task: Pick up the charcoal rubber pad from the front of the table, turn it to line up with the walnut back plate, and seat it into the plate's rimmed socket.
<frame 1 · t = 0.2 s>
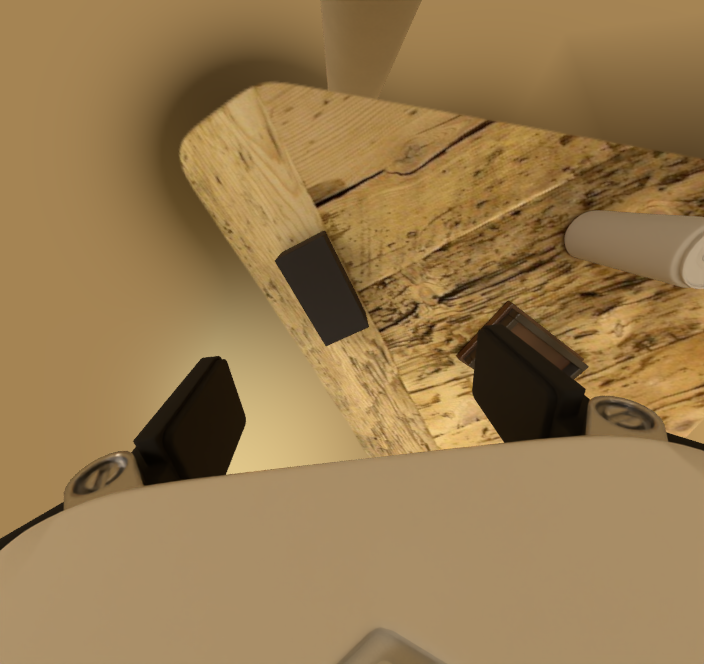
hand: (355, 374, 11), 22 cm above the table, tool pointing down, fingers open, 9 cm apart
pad: (325, 284, 32), on the table
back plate: (517, 355, 37), on the table
beverage can: (581, 233, 31), on the table
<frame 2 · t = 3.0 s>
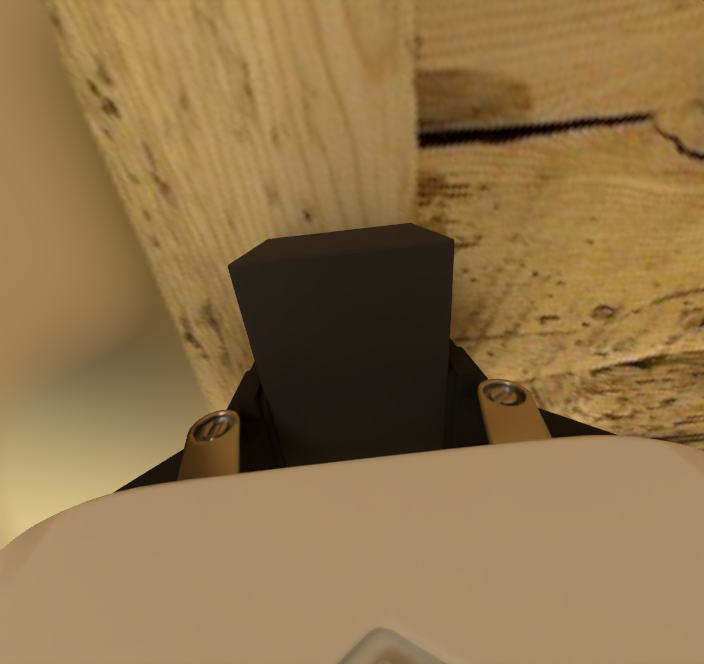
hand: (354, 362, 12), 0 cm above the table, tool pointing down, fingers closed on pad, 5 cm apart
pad: (353, 356, 12), on the table, touching gripper
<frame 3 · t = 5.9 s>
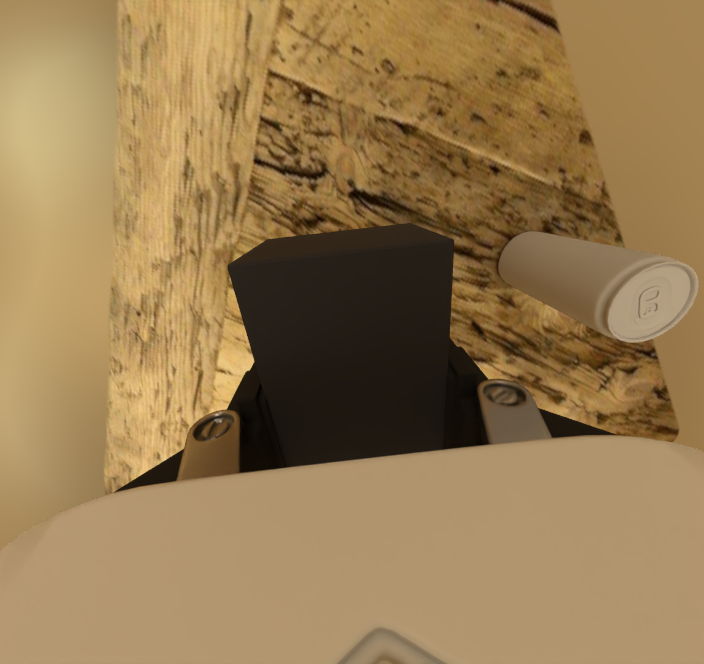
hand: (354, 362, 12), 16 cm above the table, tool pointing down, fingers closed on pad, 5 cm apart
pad: (353, 357, 12), point 15 cm above the table, touching gripper
beverage can: (520, 258, 26), on the table
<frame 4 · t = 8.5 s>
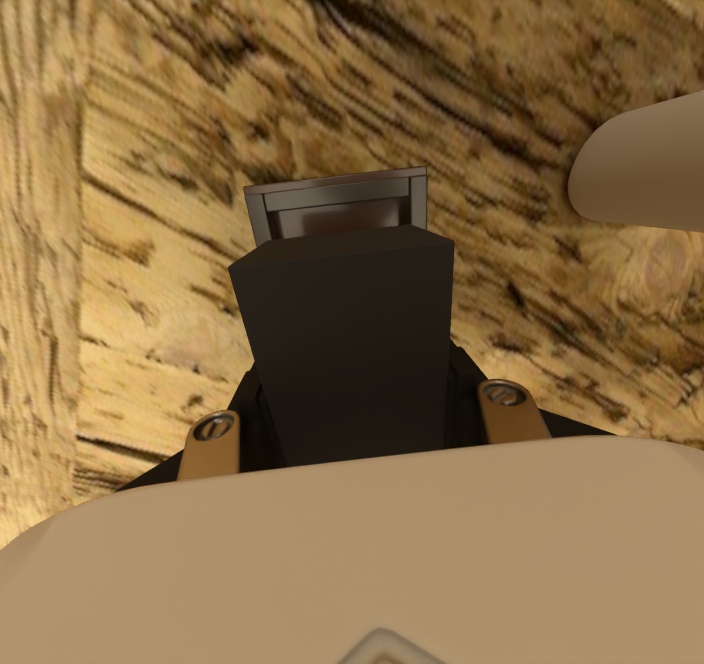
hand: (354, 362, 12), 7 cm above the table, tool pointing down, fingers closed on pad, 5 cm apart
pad: (353, 357, 12), point 6 cm above the table, touching gripper
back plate: (349, 303, 17), on the table
beverage can: (603, 171, 15), on the table
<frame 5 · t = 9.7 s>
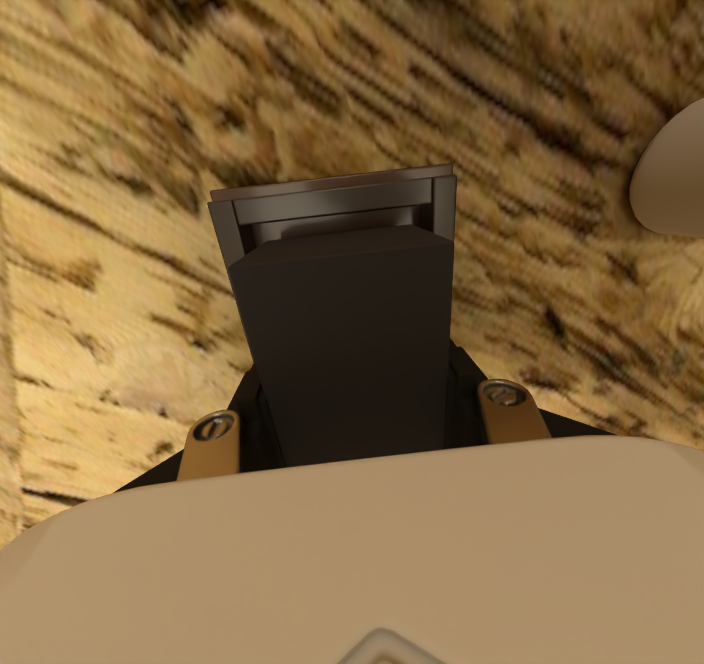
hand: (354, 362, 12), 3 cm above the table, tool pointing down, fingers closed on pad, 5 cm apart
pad: (353, 357, 12), point 2 cm above the table, touching gripper
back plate: (350, 334, 14), on the table
beverage can: (674, 170, 12), on the table
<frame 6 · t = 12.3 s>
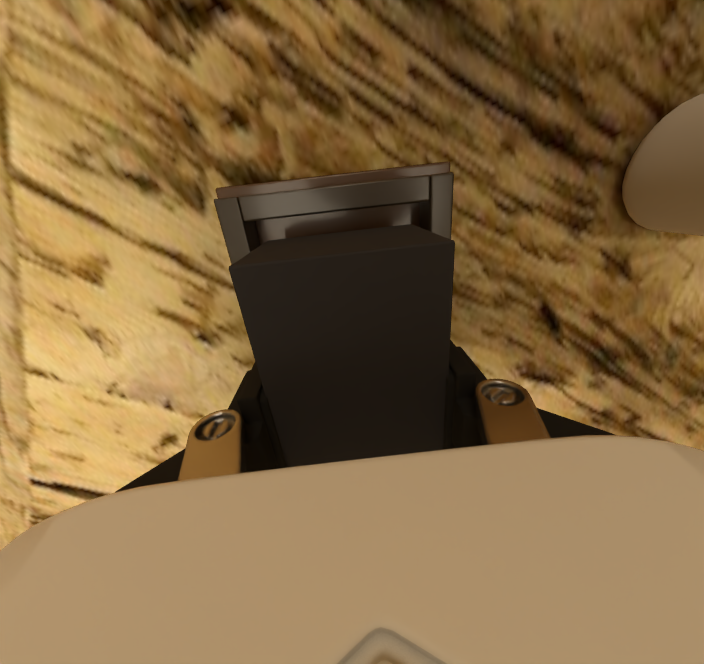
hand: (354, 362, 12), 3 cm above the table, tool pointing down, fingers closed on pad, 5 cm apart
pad: (354, 357, 12), point 3 cm above the table, touching gripper
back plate: (350, 329, 14), on the table
beverage can: (666, 168, 12), on the table
when the fingers open (3 cm above the table, at t = 14.3 s): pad drops 1 cm, resting on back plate.
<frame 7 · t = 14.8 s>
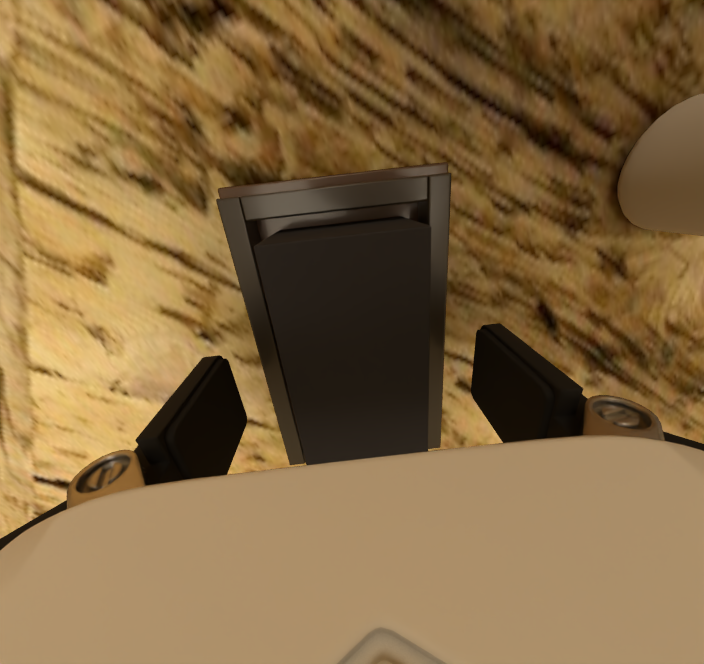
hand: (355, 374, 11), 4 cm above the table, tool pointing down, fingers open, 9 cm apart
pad: (352, 334, 14), point 1 cm above the table, touching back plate
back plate: (350, 327, 15), on the table
beverage can: (660, 169, 12), on the table
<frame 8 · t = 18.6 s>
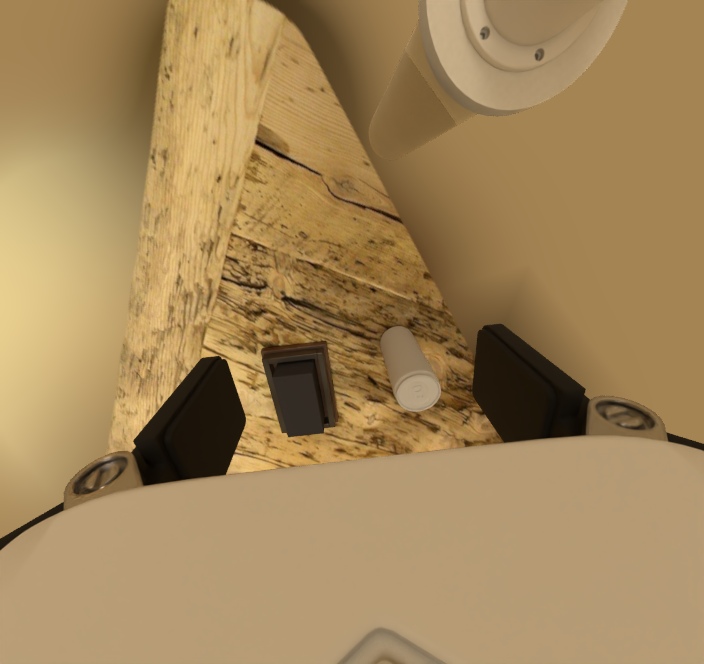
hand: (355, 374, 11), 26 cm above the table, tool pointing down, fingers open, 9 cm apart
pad: (302, 388, 42), point 1 cm above the table, touching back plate
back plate: (302, 385, 42), on the table
beverage can: (396, 339, 40), on the table
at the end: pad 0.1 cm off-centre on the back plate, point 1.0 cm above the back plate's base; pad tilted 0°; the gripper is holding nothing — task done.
